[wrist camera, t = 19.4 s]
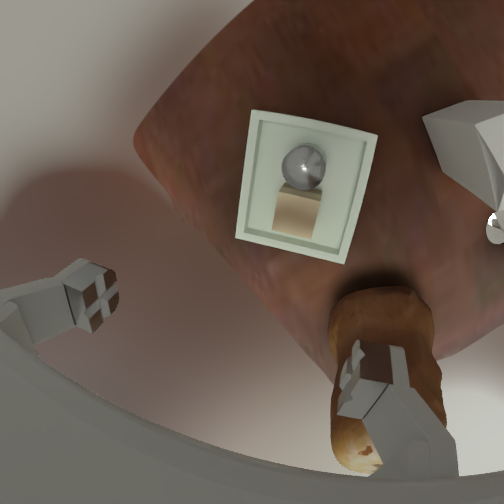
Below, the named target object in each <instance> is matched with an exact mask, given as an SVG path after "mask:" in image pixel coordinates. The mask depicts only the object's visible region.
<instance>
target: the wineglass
mask: <svg viewBox="0 0 504 504" xmlns="http://www.w3.org/2000/svg"><path fill="white" fill-rule="evenodd" d="M486 233H487V237H488V239H489V240H490V241H491V242H492V243H494V244H501V243H503V242H504V210H502V211H500V212H495V213H494V214H492V216H491V217H490V218H489V221H488V223H487V227H486Z"/></svg>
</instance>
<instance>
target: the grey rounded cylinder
mask: <svg viewBox="0 0 504 504" xmlns="http://www.w3.org/2000/svg"><path fill="white" fill-rule="evenodd" d="M326 163H327V160H326V156H325V153H324V152H323V150H322V149H321V148H320V147H319V146H317V145H316V144H313V143H308V142H306V143H301V144H298V145H297V146H295V147H294V148H293V149H292V150H291V151H290V152H289V153H288V154H287V155H286V156H285V157H284V159H283V162H282V174H283V177H284V179H285V180H286V181H287V183H288V184H289V185H291V186H292V187H294V188H296V189H299V190H309V189H312V188H315V187H316V186H318V185H319V184H320V183H321V181H322V180H323V178H324V175H325V170H326Z"/></svg>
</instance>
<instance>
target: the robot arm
mask: <svg viewBox="0 0 504 504" xmlns="http://www.w3.org/2000/svg"><path fill="white" fill-rule="evenodd" d="M116 281H117V279H116V274H115V272H114V271H113V270H112V269H109V268H107V267H104V266H102V265H99V264H97V263H94V262H91V261H88V260H86V259H83V258H81V259H78V260H76V261H75V262H74V263H72V264H71V265H70V266H68V267H67V268H65V269H64V270H62V271H61V272H60V273H58V274H57V275H56V276H54V277H53V278H52V279H51V278H46V279H41V280H37V281H33V282H30V283H26V284H22V285H18V286H14V287H10V288H7V289H3V290H0V504H504V470H503V471H498V472H492V473H485V474H478V475H469V476H459V473H458V461H457V452H456V444H455V440H454V439H453V437H452V436H451V435H450V433H449V432H448V431H447V429H446V428H445V427H444V425H443V424H442V423H441V422H440V420H439V419H438V418H437V416H436V415H435V414H434V413H433V411H432V410H431V409H430V407H429V406H428V405H427V404H426V402H425V401H424V400H423V399H422V397H421V396H420V395H419V394H418V392H417V391H416V390H415V389H414V388H410V383H409V376H408V369H407V363H406V357H405V351H404V349H403V347H398V346H392V345H385V344H380V343H375V342H370V341H365V340H360V339H357V340H356V342H355V343H354V345H353V347H352V356H350V357H348V358H347V360H346V362H345V364H344V366H343V369H342V372H341V377H340V385H339V386H340V388H341V389H342V392H341V394H340V396H339V397H338V407H337V415H341V416H346V417H351V418H357V419H362V422H363V424H364V426H365V428H366V430H367V432H368V434H369V436H370V438H371V440H372V442H373V444H374V446H375V448H376V450H377V452H378V454H379V456H380V459H381V461H382V463H383V466H381V467H380V468H379V469H378V470H376V471H375V472H374V473H372V474H371V475H370V476H369V477H361V476H351V475H341V474H333V473H327V472H320V471H314V470H308V469H303V468H297V467H292V466H287V465H282V464H278V463H274V462H269V461H265V460H261V459H257V458H253V457H250V456H246V455H243V454H239V453H236V452H233V451H229V450H226V449H222V448H220V447H217V446H213V445H211V444H208V443H205V442H202V441H199V440H196V439H193V438H191V437H188V436H186V435H183V434H180V433H178V432H175V431H173V430H170V429H168V428H166V427H163V426H161V425H159V424H156V423H154V422H152V421H149V420H147V419H145V418H143V417H141V416H139V415H136V414H134V413H132V412H130V411H128V410H126V409H124V408H122V407H120V406H118V405H116V404H114V403H112V402H110V401H109V400H107V399H105V398H103V397H101V396H99V395H97V394H96V393H94V392H92V391H90V390H89V389H87V388H85V387H83V386H82V385H80V384H79V383H77V382H75V381H74V380H72V379H70V378H69V377H67V376H66V375H64V374H62V373H61V372H59V371H58V370H56V369H55V368H53V367H52V366H50V365H49V364H47V363H46V362H44V361H43V360H42V359H40V358H39V357H38V352H37V350H36V348H35V346H34V345H36V344H38V343H40V342H42V341H45V340H47V339H49V338H51V337H54V336H56V335H58V334H60V333H62V332H65V331H67V330H69V329H71V328H74V327H75V326H78V327H80V328H81V329H84V330H86V331H88V332H90V333H92V334H93V333H94V332H95V331H96V330H97V329H98V328H99V326H100V325H101V324H102V323H103V320H104V317H106V316H109V315H111V314H112V313H113V312H114V311H115V309H116V307H117V304H118V301H119V293H118V290H117V288H116V287H115V285H114V284H115V282H116Z"/></svg>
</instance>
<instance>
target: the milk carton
mask: <svg viewBox="0 0 504 504" xmlns="http://www.w3.org/2000/svg"><path fill="white" fill-rule="evenodd" d="M422 120H423V122H424V124H425V127H426V129H427V132H428V134H429V137H430V139H431V142H432V144H433V147H434V150H435V152H436V155H437V158H438V161H439V164H440V167H441V170H442V172H443V173H445V174H446V175H448V176H449V177H450V178H452V179H453V180H455V181H456V182H458V183H459V184H461V185H462V186H463V187H465V188H466V189H468V190H469V191H470V192H472V193H473V194H474V195H476V196H477V197H478V198H480V199H481V200H482V201H484V202H485V203H486V204H487V205H489V206H490V207H491V208H492V209H494V210H495V211H496V212H500V211H502V210H504V101H488V100H467V101H463V102H460V103H458V104H455V105H452V106H449V107H446V108H444V109H441V110H438V111H436V112H433V113H430V114H428V115H425V116H423V117H422Z"/></svg>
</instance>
